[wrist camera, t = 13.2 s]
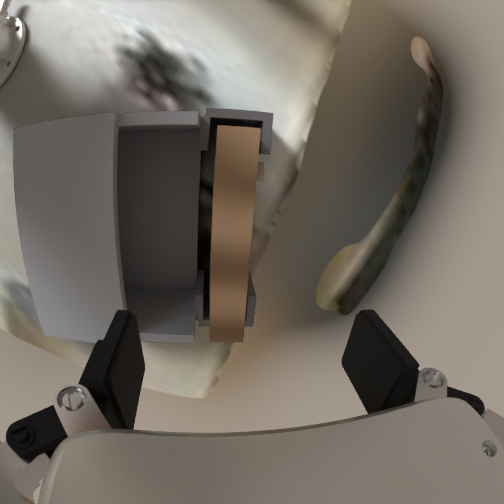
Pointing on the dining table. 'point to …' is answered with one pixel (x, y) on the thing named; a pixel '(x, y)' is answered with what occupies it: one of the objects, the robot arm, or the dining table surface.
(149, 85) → the dining table surface
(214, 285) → the tan wooden plank
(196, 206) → the cabinet
